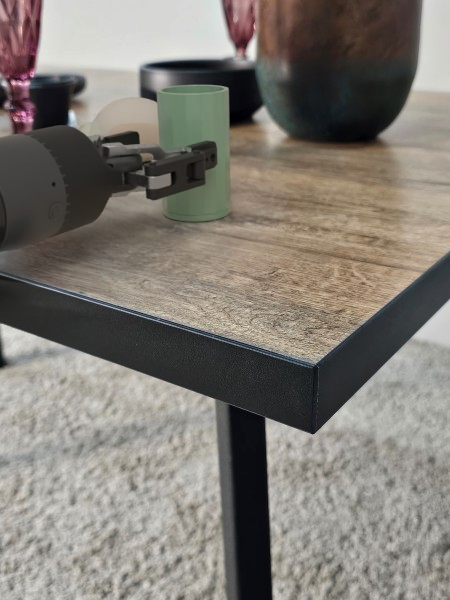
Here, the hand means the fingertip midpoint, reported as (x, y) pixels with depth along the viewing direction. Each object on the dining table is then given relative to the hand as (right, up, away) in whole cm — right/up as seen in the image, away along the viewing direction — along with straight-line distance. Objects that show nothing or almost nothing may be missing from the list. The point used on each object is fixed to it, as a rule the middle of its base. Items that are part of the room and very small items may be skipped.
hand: (173, 147), depth 64 cm
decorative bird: (-5, +3, +25) cm, 26 cm away
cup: (+2, -5, +5) cm, 7 cm away
